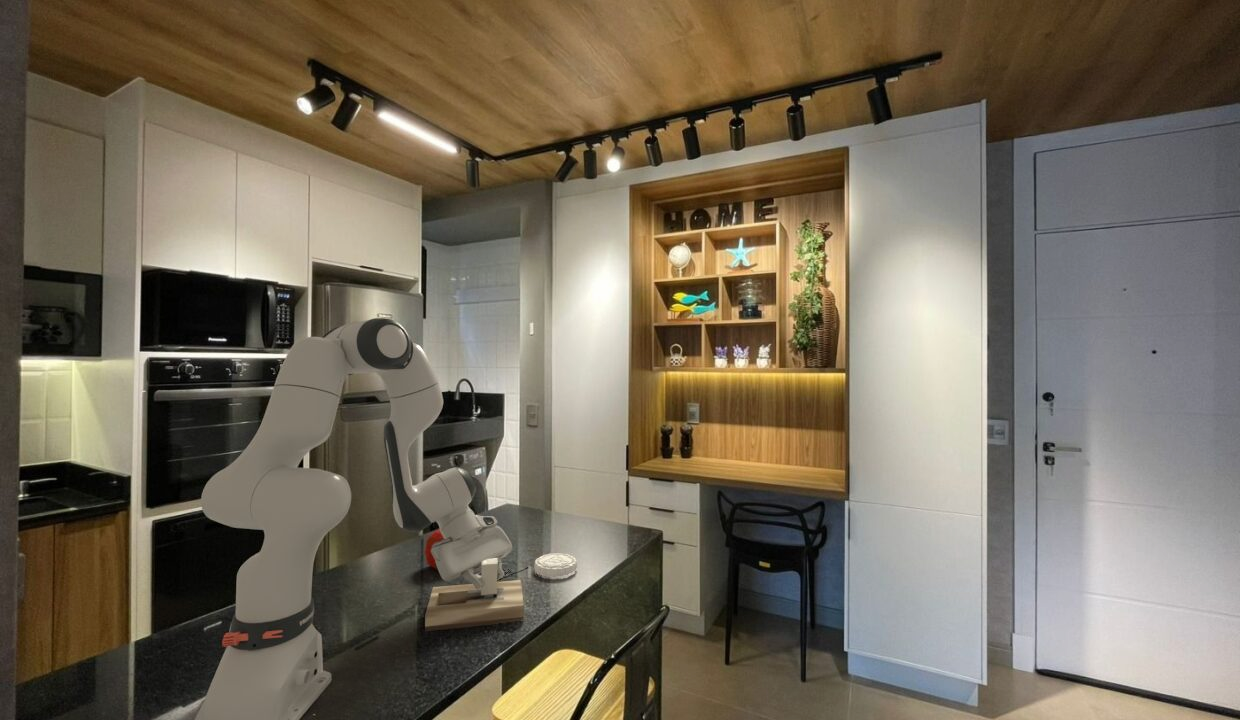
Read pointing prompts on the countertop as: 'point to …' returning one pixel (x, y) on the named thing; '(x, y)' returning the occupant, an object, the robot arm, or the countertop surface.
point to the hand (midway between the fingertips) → (491, 582)
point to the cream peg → (489, 578)
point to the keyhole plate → (473, 606)
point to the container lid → (555, 564)
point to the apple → (429, 543)
